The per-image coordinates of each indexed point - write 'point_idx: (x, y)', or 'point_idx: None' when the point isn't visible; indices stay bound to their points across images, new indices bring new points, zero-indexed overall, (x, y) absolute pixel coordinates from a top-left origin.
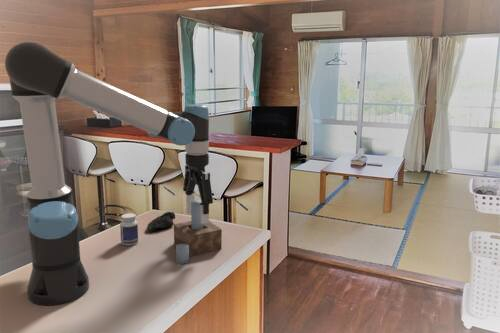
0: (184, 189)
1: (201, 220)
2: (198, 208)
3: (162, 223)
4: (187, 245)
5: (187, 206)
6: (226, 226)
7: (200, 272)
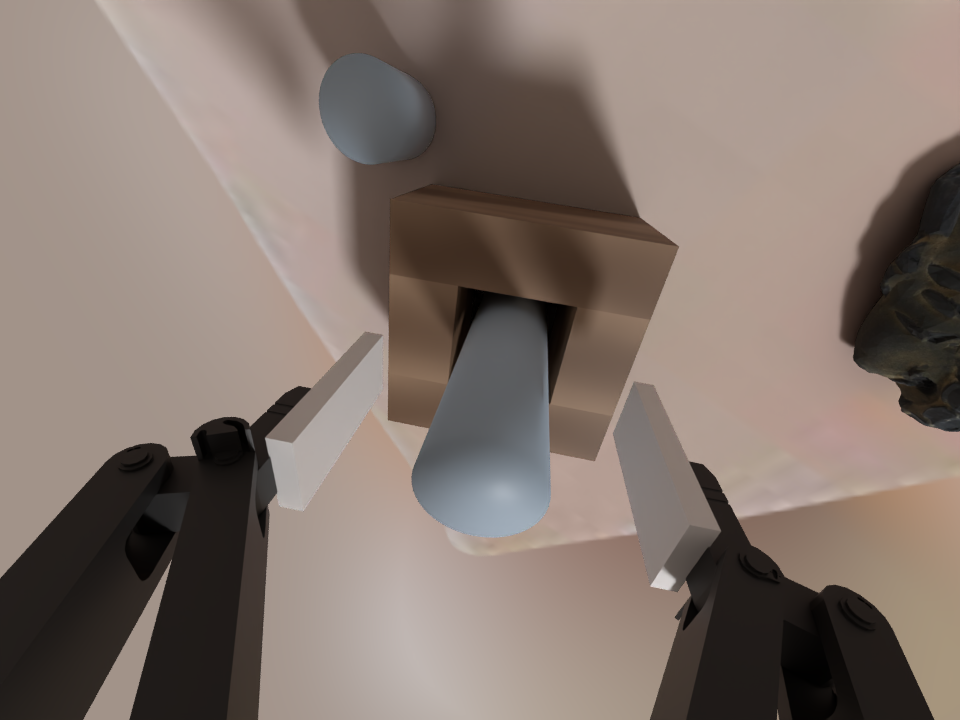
0: (833, 617)
1: (353, 344)
2: (431, 426)
3: (917, 293)
4: (360, 153)
5: (650, 425)
6: (606, 511)
7: (239, 124)
